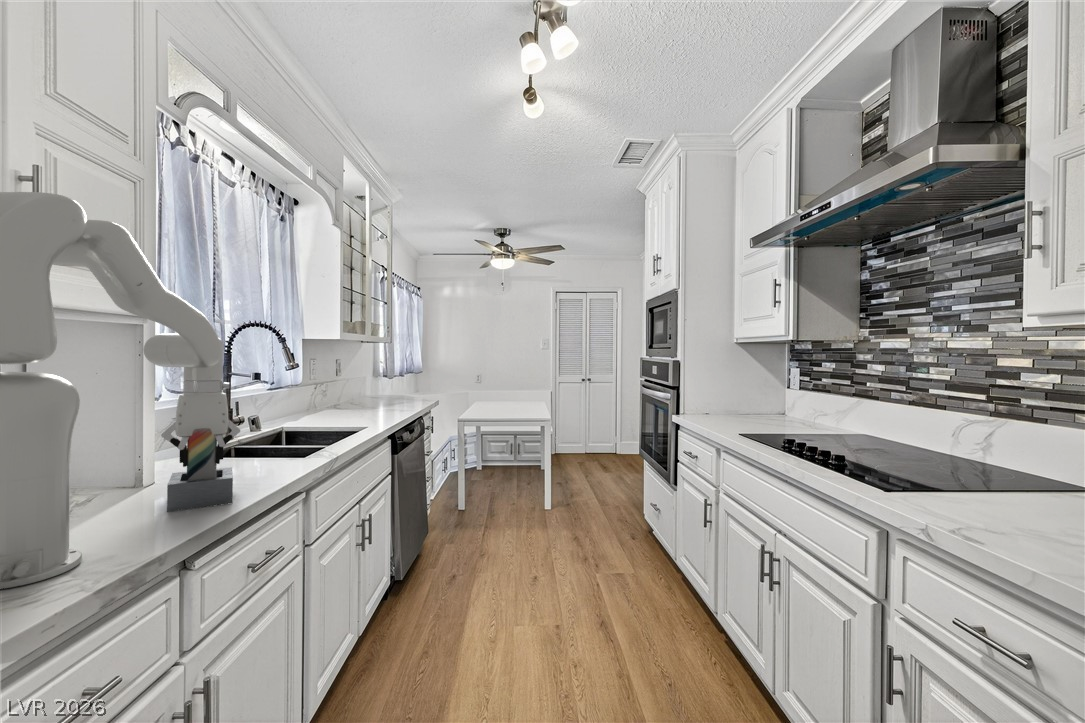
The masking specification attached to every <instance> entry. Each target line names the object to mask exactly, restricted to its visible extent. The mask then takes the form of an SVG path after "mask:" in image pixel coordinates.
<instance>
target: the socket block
mask: <svg viewBox="0 0 1085 723" xmlns="http://www.w3.org/2000/svg"><path fill="white" fill-rule="evenodd" d="M170 475H171V476H170V478H169V481H168V482H167V488H166V489H167V490H166V491H167V494H166V495H167V496H166V497H167V498H166V512H167V513H170V512H177V511H185V510H192V509H193V508H194V509H200V507H201V508H208V507H207V506H209V507H215V506H214V505H217V506H222V505H221V504H224V505H229V504H228V503H232V504H233V497H234V496H233V488H234V486H233V485H234V483H233V482H234V478H233V476H234V475H233V467H221V468H216V478H209V479H199V480H189V481H187V471H179V472H172V473H171V474H170Z"/></svg>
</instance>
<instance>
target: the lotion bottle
mask: <svg viewBox="0 0 1085 723" xmlns="http://www.w3.org/2000/svg"><path fill="white" fill-rule="evenodd" d="M217 444H218V442H217V440H216V437H215V436H214V435H212V431H211V429H210V428H200V429H194V431H193V433H192V436H191V437H189V439H188V441H187V443H186V446H187V466H186V472H187V481H189V480H199V479H209V478H216V469H217V465H218V464H216V447H217Z"/></svg>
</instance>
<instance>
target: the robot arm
mask: <svg viewBox="0 0 1085 723" xmlns="http://www.w3.org/2000/svg"><path fill="white" fill-rule="evenodd" d="M53 265H54V266H59V267H81V268H83V267H84V268H87V269H88V270H89V271H90V272H91V274H92V275H93V276H94V277H95V279H96V280H97V281H98V283H99V284H100V285H101V287H103V289H104V291H105V292H106V294H107V295H108V297H110V299H111V301H112V302H113V303H114V305H116V307H117V308H119V309H121V310H122V311H125V312H127V313H129V314H132V315H135V316H136V317H139V318H143V319H146V320H149V321H152V322H155V323H158V324H160V325H162V326H164V327H167V328H168V329H170V330H172V331H174V332H175V333H174V332H173V333H172V332H171V333H170V332H167V333H166V332H164V333H159V334H155V335H153V336H151V337H149V338H148V339H147V340H146V341H145V343H144V345H143V354H144V357H145V358H146V360H148V362H149V363H151V364H153V365H156V366H158V367H163V368H183V381H182V384H183V386H182V387H183V388H182V393H180V394H179V396H178V400H177V404H176V412H175V413H176V414H175V421H174V422H173V423H172V424H171V425H169V427H167V429H165V430H164V431H163V432H162V433H161V435H160V436H161V437H162V438H163V440H167V441H168V442H170V443H171V444H172V445H173V446H175V447H176V448H177V449H178V450H179V464H182V467H183V468H187V441H188V439H189V437H191V436H192V433H193V431H194V429H200V428H210V429H211V431H212V435H214V436H215V437H216V440H217V447H216V464H217V465H220V463H221V460H224V447H225V445H227V444H229V442H230V441H231V440H232V439H234V438H235V437H236V436H237V435H239V434H240V433H241V429H240V427H239V426H237V425H236V424H235V423H234V422H233V421H232V420H230V418H229V403H228V397H227V393H226V392H223V391H224V390H227V389H230V382H225V381H223V380H224V379H223V376H224V375H223V374H224V372H223V371H224V370H223V369H224V368H223V367H224V366H223V365H224V342H223V340H222V338H220V337H219V335H218V334H217V332H216V330H215V328H214V327H213V325H212V324H211V322H210V321H209V319H208V318H207V316H205V314H203V313H202V312H201V311H200V310H199V309H197V308H196V307H194V306H193V305H192V304H190V303H189V302H187V301H186V300H184V299H183V298H181V297H180V296H178V295H177V294H175V293H174V292H172V291H170V290H168V289H167V288H166V287H165V285H164V284H163V283H162V281H161V280H160V278H159V276H158V275H157V273H156V272H155V270H154V268H153V267H152V265H151V264H150V262H149V261H148V260H147V258H146V256H145V255H144V253H143V252H142V250H141V249H140V247H139V245H138V243H137V242H136V241H135V239H134V238H133V237H132V235H131V233H130V232H129V231H128V230H127V229H126V228H125V227H124V226H122V225H120V224H118V223H116V222H112V221H108V220H102V219H101V220H100V219H87V214H86V211H85V210H84V207H82V205H80V203H79V202H77V201H76V200H74V199H72V198H71V197H68V196H65V195H61V194H57V193H52V192H51V193H49V192H37V191H0V590H3V588H4V589H9V588H10V589H11V588H15V587H21V586H26V585H29V584H33V583H38V582H42V581H45V580H47V579H50V578H53V577H56V576H59V575H61V574H64V573H67V572H68V571H71V570H72V569H74V568H75V567H77V566H78V565H80V564H81V562H82V560H83V553H82V552H81V551H80V550H78V549H73V548H70V508H71V507H70V504H71V503H70V502H71V499H70V498H71V448H72V438H73V433H74V429H75V424H76V420H77V418H78V414H79V409H80V404H81V401H80V400H81V399H80V398H81V397H80V395H79V391H78V390H77V388H76V386H74V384H73V383H71V382H70V381H69V380H67V379H65V378H63V377H61V376H58V375H56V374H50V373H45V372H37V371H35V372H33V371H32V372H31V371H2V367H1V365H29V364H34V363H39V362H42V361H45V360H47V359H50V358H51V356H52V355H54V353H55V352H56V349H57V347H58V346H57V344H58V332H57V326H56V325H57V324H56V319H55V313H54V306H53V299H52V292H51V282H50V274H51V268H52V267H53ZM228 429H230V430H231V431H230V433H228ZM174 432H175V435H176V436H177V437H178V438H177V437H175V436H174V435H173V434H172V433H174ZM226 433H228V434H226ZM225 434H226V435H225ZM223 435H225V436H224V437H223ZM179 437H180V438H181V440H180V439H179Z"/></svg>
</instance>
